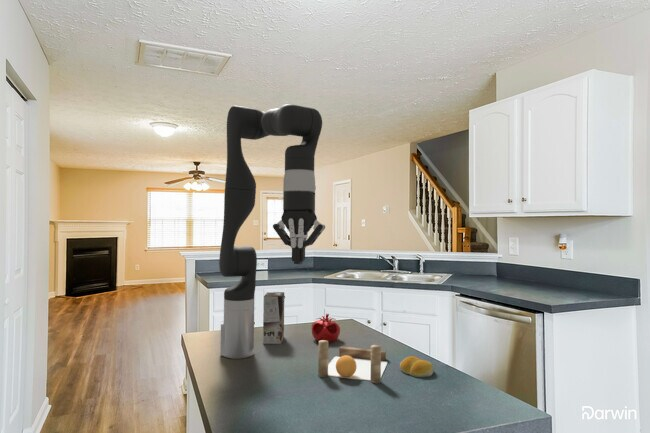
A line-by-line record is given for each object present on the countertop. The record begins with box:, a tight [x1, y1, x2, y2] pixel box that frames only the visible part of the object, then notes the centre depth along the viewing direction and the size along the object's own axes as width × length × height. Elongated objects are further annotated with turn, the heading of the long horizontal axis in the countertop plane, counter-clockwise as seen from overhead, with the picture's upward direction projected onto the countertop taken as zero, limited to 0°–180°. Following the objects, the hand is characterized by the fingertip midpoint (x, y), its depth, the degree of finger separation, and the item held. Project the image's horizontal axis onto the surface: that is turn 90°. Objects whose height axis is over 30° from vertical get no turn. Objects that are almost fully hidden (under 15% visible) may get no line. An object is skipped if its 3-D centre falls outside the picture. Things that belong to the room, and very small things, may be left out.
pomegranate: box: [310, 313, 341, 343], centre depth 146 cm, size 10×10×9 cm
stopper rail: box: [338, 345, 387, 362], centre depth 127 cm, size 14×2×2 cm, turn 74°
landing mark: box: [327, 355, 388, 382], centre depth 117 cm, size 16×16×1 cm
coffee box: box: [262, 291, 285, 345], centre depth 145 cm, size 9×6×16 cm
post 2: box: [370, 344, 382, 384], centre depth 108 cm, size 3×3×9 cm
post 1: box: [317, 340, 329, 378], centre depth 112 cm, size 3×3×9 cm
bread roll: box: [399, 355, 434, 378], centre depth 116 cm, size 8×9×4 cm
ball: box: [336, 355, 356, 378], centre depth 111 cm, size 6×6×6 cm
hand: (298, 263), depth 98 cm, fingers closed
